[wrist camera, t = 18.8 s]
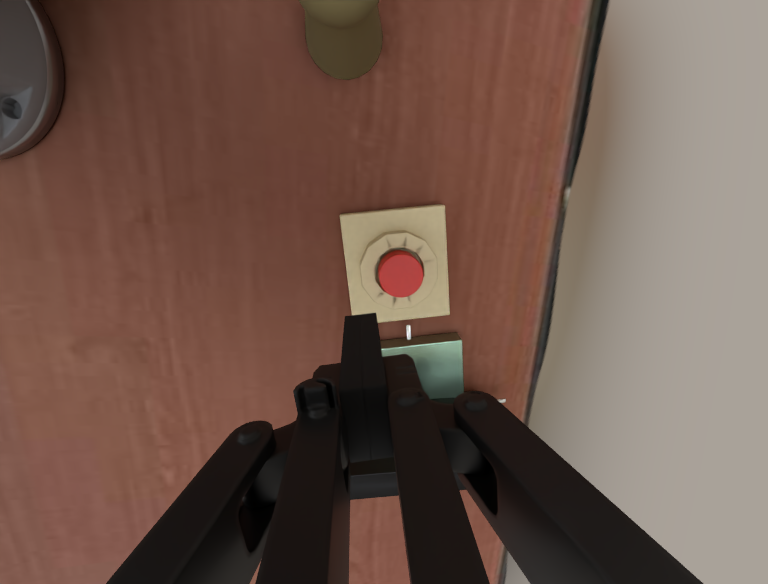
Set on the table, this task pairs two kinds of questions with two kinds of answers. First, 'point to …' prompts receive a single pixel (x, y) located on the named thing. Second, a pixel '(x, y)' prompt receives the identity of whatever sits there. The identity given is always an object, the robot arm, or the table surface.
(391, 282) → the red push button
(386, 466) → the black panel
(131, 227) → the table surface
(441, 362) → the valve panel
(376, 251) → the button box
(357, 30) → the olive pawn
